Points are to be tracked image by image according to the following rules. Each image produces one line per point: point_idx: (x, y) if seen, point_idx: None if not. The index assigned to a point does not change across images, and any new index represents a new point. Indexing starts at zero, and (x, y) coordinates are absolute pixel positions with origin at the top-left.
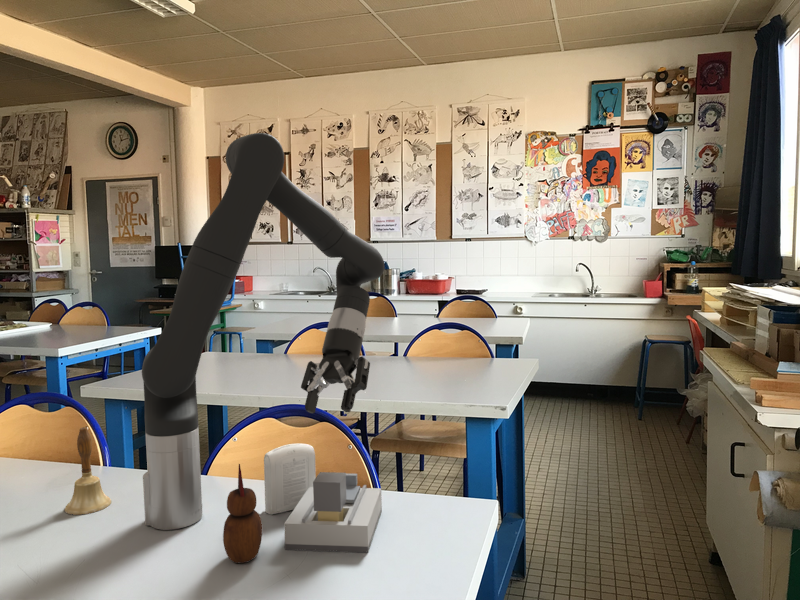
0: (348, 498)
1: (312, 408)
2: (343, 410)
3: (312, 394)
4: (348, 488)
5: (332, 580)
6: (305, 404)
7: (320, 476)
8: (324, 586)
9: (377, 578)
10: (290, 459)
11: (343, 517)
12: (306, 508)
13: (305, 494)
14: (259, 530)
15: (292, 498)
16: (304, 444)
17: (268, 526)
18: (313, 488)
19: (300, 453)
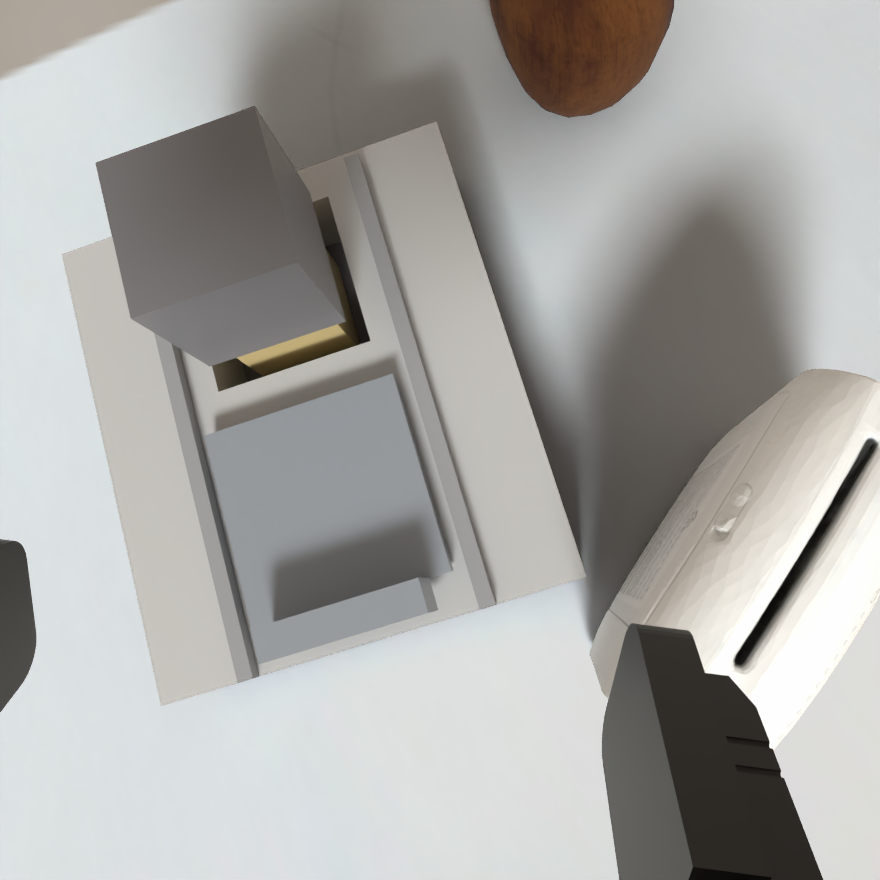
0: (238, 439)
1: (618, 720)
2: (25, 584)
3: (678, 848)
4: (302, 571)
5: (169, 79)
6: (753, 721)
7: (256, 200)
8: (178, 39)
9: (31, 153)
10: (711, 493)
11: (252, 367)
12: (429, 305)
13: (540, 464)
14: (496, 7)
15: (666, 520)
16: None
17: (666, 332)
18: (268, 129)
19: (674, 576)
